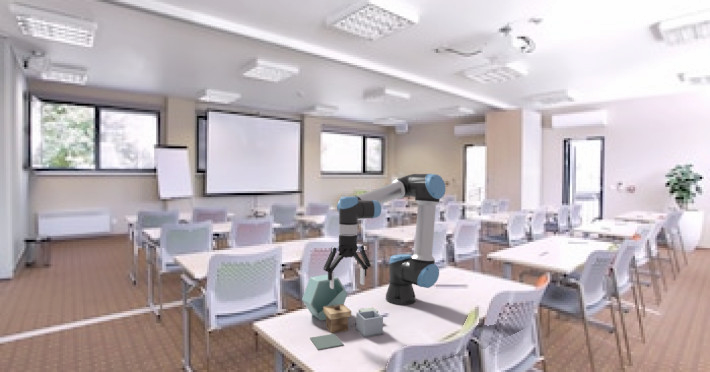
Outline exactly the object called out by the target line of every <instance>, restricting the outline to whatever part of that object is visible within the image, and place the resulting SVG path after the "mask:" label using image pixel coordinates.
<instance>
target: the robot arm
mask: <svg viewBox="0 0 710 372" xmlns="http://www.w3.org/2000/svg"><path fill="white" fill-rule="evenodd" d="M446 191H447V189H446V183H445V180H444V179H443V178H442V176H441V175H439V174H435V173H412V174H408V175H405V176H402V177H399V178H397V179H395V180H393V181H392V182H391V183H389V184H386V185H384V186H381V187H378V188H375V189H373V190H369V191H366V192H363V193H361V194H358V195H354V196H353V195H352V196H351V195H348V196H341V197H340V198H339V199H338V202H337V204H336V210H337V212H338V216H339V217H338V219H339V221H338V222H339V223H338V234H339V235H338V246H335V247H334V246H331V247H330V253H329V256H328V257H327V259H326V262H325V264H324V266H323V268H322V269H323V271H325V272H327V274H328V280H329V281H330V288H331V289H334V276H335V272H334V271H335V269H336V267H338V265H339V264H340V262H341V261H342V260H343V259H344V258H345V259H347V258H354V259H355V260H356V261H357V263H358V264H359V265H360V268H359V284H360V285H361V286H365V284H366V283H365V278H366V277H367V270H368V269H369V268H370V267H371V266H372V265H371V262H370V260H369V258H368V256H367V254H366V251H365V246H364V245H362V244H359V245H358V235H357V234H358V220H361V219H362V220H363V219H376V218H379V217H380V216H381V214H382V204H383V203H387V202H389V201H392V200H395V199H396V198H397V199H402V198H408V197H409V198H410V197H411V198H414V201H415V203H416V204H417V209H416V211H417V212H416V222H415V223H416V226H415V237H414V238H415V239H414V247H413V248H414V249H413V250H414V251H413V254H408V253H405V254H404V253H403V254H401V253H400V254H393V255H390V258H389V270H388V271H389V274H388V275H389V279H388V281H389V282H388V283H389V284H388V288H387V290H386V292H385V301H386V302H388V303H391V304H393V305H401V306H402V305H411V304H414V303H415V302H416V294H415V290H414V286H415V285H416V286H418V287H420V288H424V289H425V288H426V289H429V288H432V287H433V286H434V285H435V284H436V283H437V281H438V279H439V276H440V269H439V266H438V265H436V264H435V263H436V258H435V257H434V256H433V246H434V235H435V234H434V232H435V221H436V209H437V205H439V204H440V199H442V198H444V195H445V194H446ZM357 251H358V252H359V253H360V255H361V257H362V259H361V257H360V256H359V255H358V254H357ZM335 256H336V257H335ZM413 285H414V286H413Z"/></svg>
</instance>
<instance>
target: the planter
mask: <svg viewBox="0 0 710 372" xmlns="http://www.w3.org/2000/svg"><path fill="white" fill-rule="evenodd" d="M347 296H348V292H347V289H345V287H344V285H343V283H342V282H341V280H340V279H339V277H337V276H335V275H334V289H331V288H330V281H329V280H328V273H327V274H321V275H315V276H310V277H309V279H308V282H307V285H306V288H305V290H304V293H303V295H302V299H301V301H302V302H303V304H304V305H305V306H306V309H307V310H308V312H309V313H310V314H311V316H313V317H315V318H316V319H318V320H319V321H326V314H325V313H324V312H323V307H324V306H332V305H339V304H344V305H345V302H346V299H347Z"/></svg>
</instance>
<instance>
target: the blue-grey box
mask: <svg viewBox="0 0 710 372" xmlns="http://www.w3.org/2000/svg"><path fill="white" fill-rule="evenodd" d="M355 314H356V315H355V316H356V320H355V326H356V328H355V331H357V332H358V333H359V334H360V335H361V336H362V337H363V338H369V337H374V336H381V335H384V333H383V331H384V330H383V329H384V325H383V324H384V317H383V316H382V315H381V314H380V313H379V312H378V313H377V312H376V311H374V310H371V311H365V312H359V311H358V312H356V313H355Z"/></svg>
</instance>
